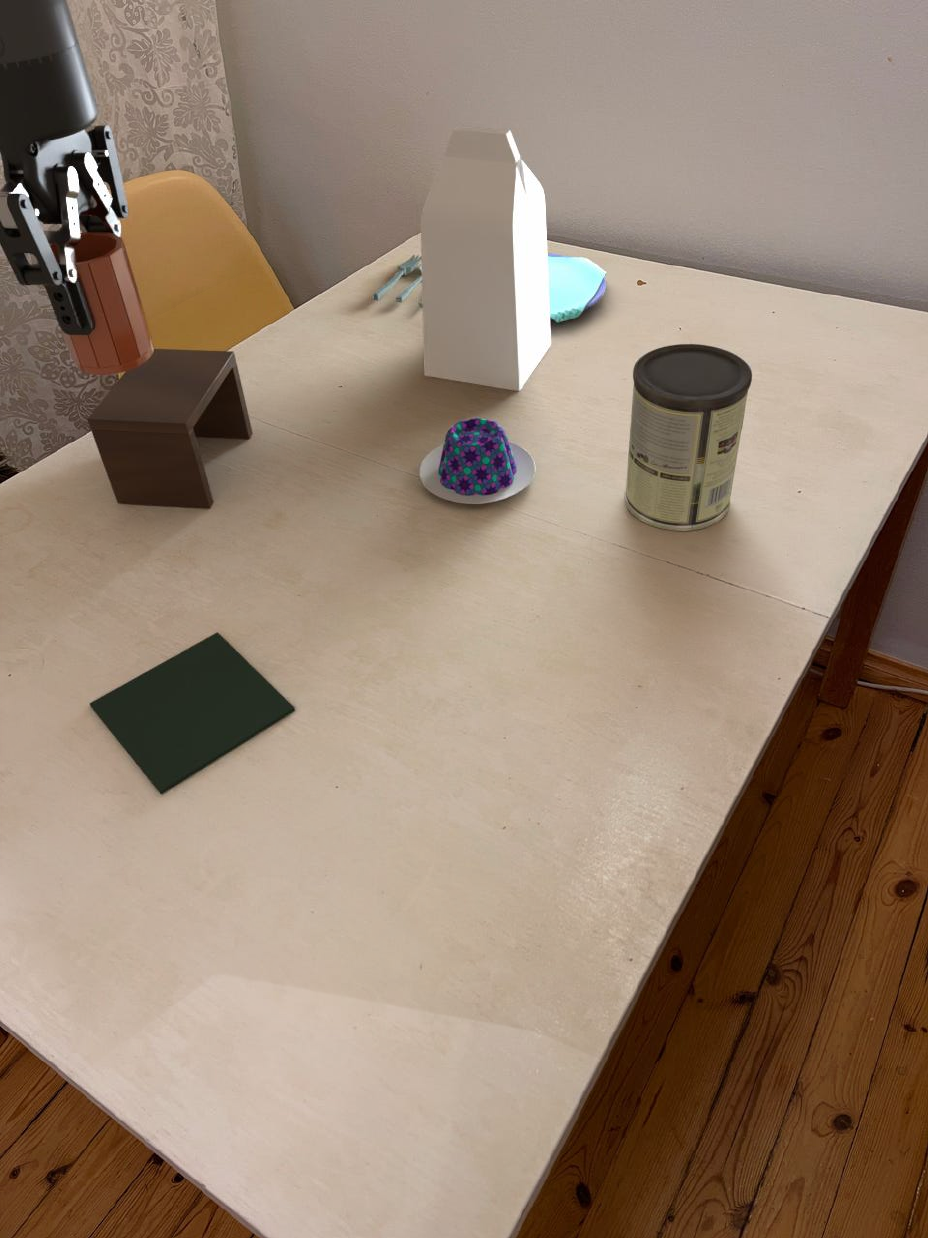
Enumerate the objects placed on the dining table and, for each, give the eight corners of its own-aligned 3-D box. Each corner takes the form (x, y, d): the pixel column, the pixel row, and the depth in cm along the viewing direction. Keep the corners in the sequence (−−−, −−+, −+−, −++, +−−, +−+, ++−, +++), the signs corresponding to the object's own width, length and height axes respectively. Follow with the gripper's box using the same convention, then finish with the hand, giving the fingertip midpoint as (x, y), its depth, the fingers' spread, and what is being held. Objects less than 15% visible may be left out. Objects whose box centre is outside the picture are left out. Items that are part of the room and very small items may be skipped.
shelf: (210, 509, 97) (185, 423, 91) (117, 503, 99) (86, 419, 92) (252, 433, 107) (234, 351, 101) (168, 429, 109) (144, 347, 102)
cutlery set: (582, 341, 119) (583, 324, 118) (363, 311, 128) (361, 294, 126) (622, 274, 132) (623, 258, 131) (422, 251, 141) (420, 235, 140)
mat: (161, 795, 72) (159, 791, 71) (90, 706, 78) (89, 703, 78) (295, 710, 77) (294, 707, 77) (218, 635, 84) (217, 631, 84)
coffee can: (641, 461, 100) (652, 335, 90) (740, 482, 97) (764, 353, 87) (608, 518, 93) (617, 388, 84) (714, 542, 90) (736, 410, 80)
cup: (97, 383, 68) (58, 273, 63) (61, 356, 71) (22, 249, 66) (168, 354, 71) (137, 246, 65) (131, 330, 74) (98, 224, 68)
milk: (424, 375, 115) (405, 143, 97) (461, 331, 123) (449, 108, 105) (519, 391, 111) (517, 152, 93) (551, 344, 119) (554, 116, 101)
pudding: (434, 438, 105) (430, 396, 101) (543, 447, 103) (544, 403, 99) (407, 504, 96) (402, 460, 93) (525, 515, 94) (525, 470, 91)
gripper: (9, 14, 63) (91, 267, 74) (-116, 77, 52) (1, 359, 64) (118, 11, 62) (184, 268, 73) (12, 74, 51) (108, 362, 63)
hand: (99, 309), depth 68 cm, fingers closed on cup, 6 cm apart
